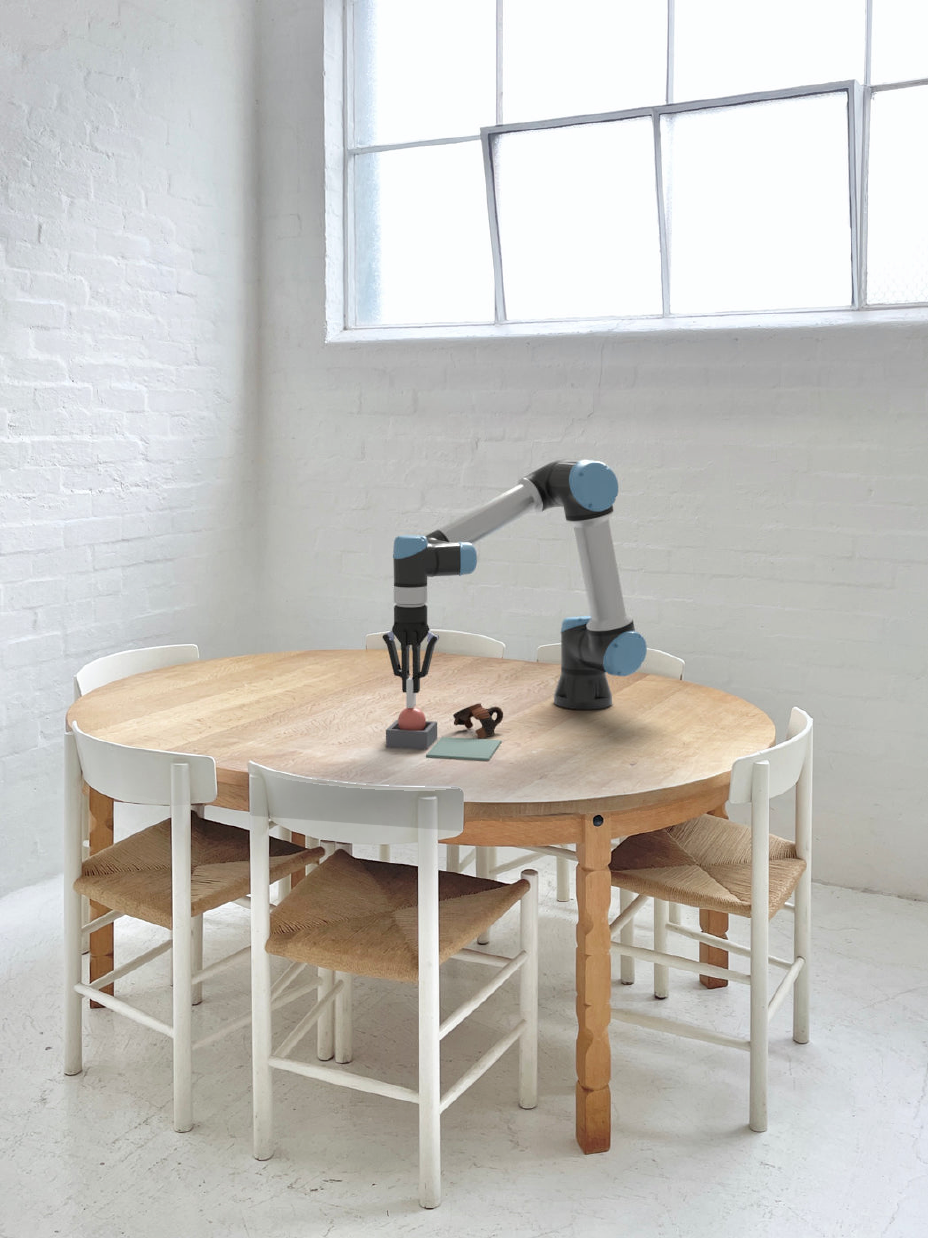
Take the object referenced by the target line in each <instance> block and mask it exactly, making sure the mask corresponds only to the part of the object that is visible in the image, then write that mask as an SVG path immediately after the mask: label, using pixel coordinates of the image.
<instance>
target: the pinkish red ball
mask: <svg viewBox="0 0 928 1238" xmlns="http://www.w3.org/2000/svg"><path fill="white" fill-rule="evenodd" d="M426 718H427V717H426V716H425V713H424V712H423V711H422V710H421V709H420V708H417V707H416V706H415V707H414V708H404V709H402V710H401V712H400V713H399V714H398V717H397V719H398V725H399V728H400V729H401V730H417V731H422V730H423V729H424V727H425V724H426V721H427V720H426Z"/></svg>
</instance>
